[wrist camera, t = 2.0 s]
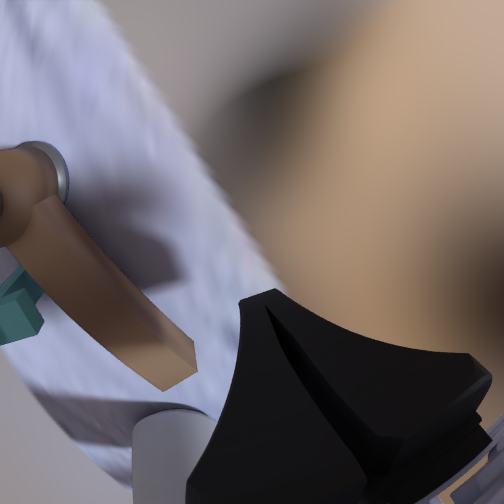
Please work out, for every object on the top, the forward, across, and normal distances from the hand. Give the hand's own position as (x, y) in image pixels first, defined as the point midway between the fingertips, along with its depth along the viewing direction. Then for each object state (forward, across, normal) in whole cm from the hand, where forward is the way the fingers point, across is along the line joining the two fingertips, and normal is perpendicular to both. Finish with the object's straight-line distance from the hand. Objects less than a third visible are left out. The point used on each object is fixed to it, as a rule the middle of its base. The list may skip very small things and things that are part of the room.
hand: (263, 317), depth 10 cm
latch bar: (+3, +6, -3) cm, 7 cm away
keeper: (+4, +9, -3) cm, 10 cm away
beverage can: (+4, +7, +10) cm, 13 cm away
